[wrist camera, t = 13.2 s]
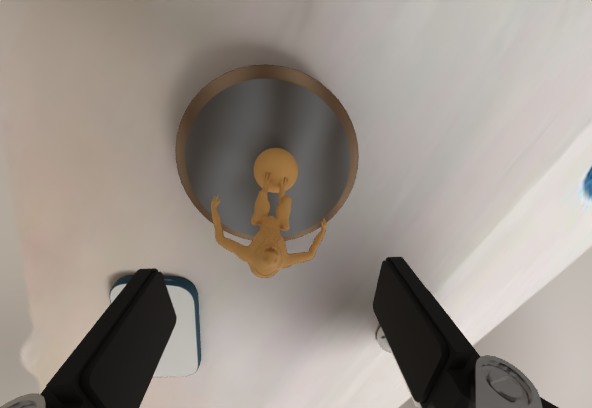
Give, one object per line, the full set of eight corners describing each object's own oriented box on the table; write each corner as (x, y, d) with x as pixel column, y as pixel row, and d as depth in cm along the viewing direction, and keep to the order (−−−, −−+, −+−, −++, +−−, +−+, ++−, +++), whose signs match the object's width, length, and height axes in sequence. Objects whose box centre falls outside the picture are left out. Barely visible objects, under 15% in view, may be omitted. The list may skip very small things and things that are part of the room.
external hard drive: (202, 365, 43) (199, 376, 41) (137, 365, 41) (131, 378, 40) (198, 274, 33) (194, 285, 31) (112, 270, 31) (102, 281, 29)
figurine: (322, 155, 22) (369, 219, 11) (303, 208, 24) (327, 301, 14) (236, 131, 20) (194, 180, 9) (226, 191, 22) (184, 282, 12)
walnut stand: (357, 69, 22) (374, 66, 19) (340, 223, 30) (349, 240, 27) (169, 66, 21) (148, 61, 17) (204, 229, 29) (194, 248, 25)
